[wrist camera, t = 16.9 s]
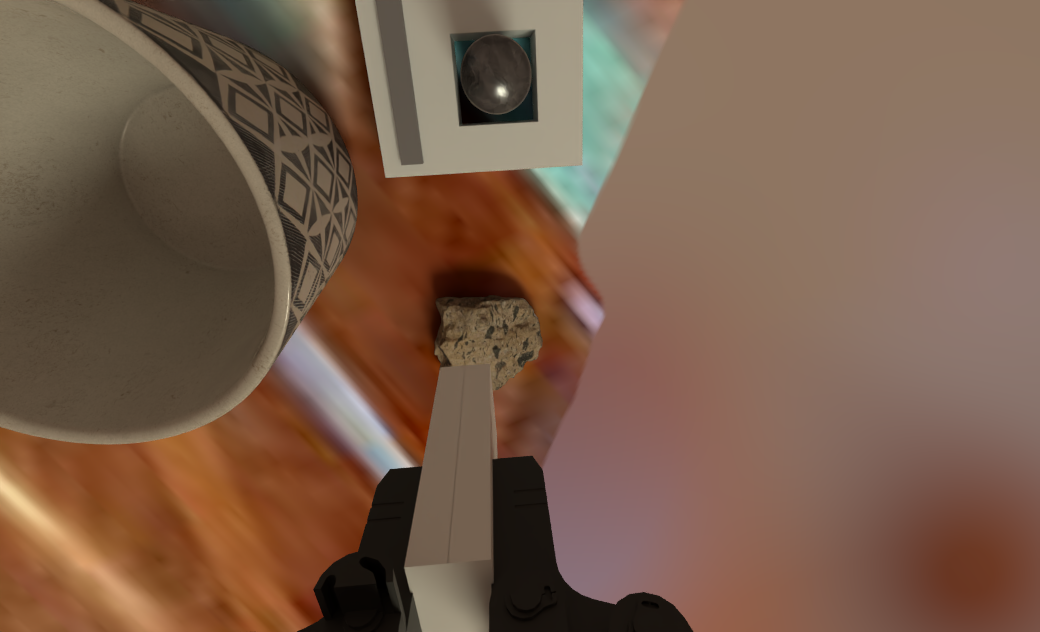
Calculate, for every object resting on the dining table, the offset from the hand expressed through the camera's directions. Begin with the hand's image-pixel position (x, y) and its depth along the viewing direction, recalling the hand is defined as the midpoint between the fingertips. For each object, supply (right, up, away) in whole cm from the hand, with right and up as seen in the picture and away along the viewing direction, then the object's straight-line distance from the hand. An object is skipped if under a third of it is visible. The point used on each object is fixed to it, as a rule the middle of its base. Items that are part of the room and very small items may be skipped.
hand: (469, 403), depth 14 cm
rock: (-2, +1, +38) cm, 38 cm away
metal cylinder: (-1, +24, +27) cm, 36 cm away
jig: (-3, +24, +27) cm, 36 cm away
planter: (-25, +16, +29) cm, 42 cm away
